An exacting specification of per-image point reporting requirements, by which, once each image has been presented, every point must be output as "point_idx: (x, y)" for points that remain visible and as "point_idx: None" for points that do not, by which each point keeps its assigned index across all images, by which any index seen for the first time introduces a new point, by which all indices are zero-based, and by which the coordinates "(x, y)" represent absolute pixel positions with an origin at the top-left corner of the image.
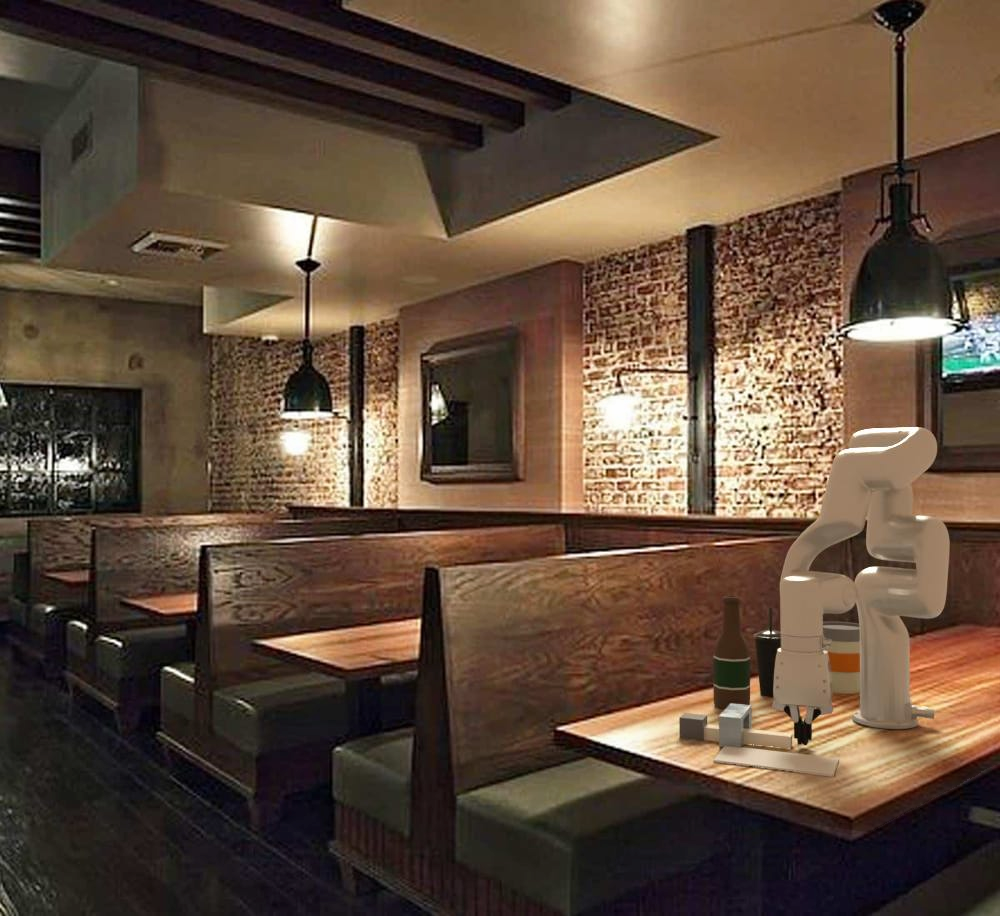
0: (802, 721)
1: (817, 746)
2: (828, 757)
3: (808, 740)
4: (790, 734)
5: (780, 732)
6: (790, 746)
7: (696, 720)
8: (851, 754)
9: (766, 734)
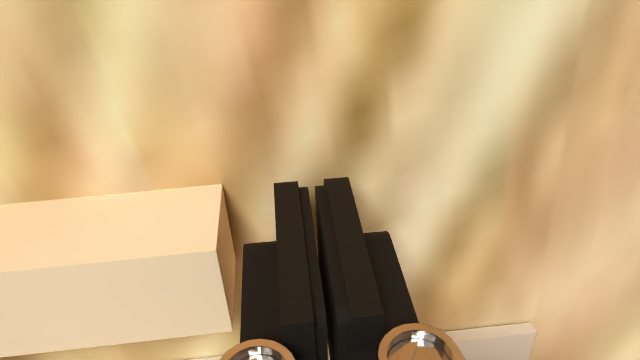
0: (325, 357)
1: (404, 97)
2: (481, 341)
3: (347, 177)
4: (211, 281)
5: (108, 266)
6: (234, 276)
7: None
8: (631, 178)
9: (34, 352)
